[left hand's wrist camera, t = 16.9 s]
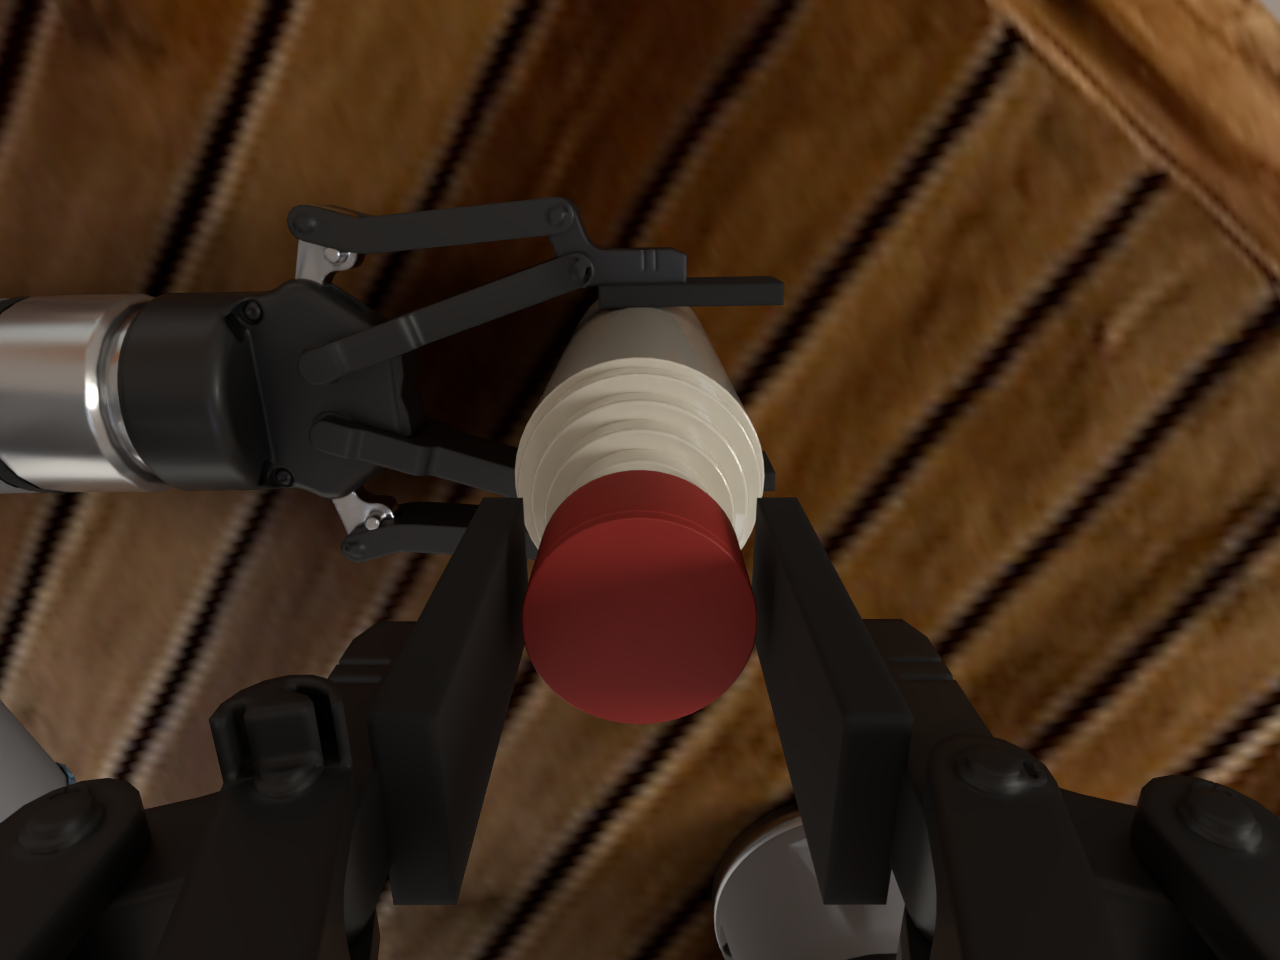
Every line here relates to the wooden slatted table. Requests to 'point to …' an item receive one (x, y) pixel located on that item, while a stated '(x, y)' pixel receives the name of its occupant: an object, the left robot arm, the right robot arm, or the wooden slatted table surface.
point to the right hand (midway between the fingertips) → (771, 383)
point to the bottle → (639, 416)
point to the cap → (639, 599)
